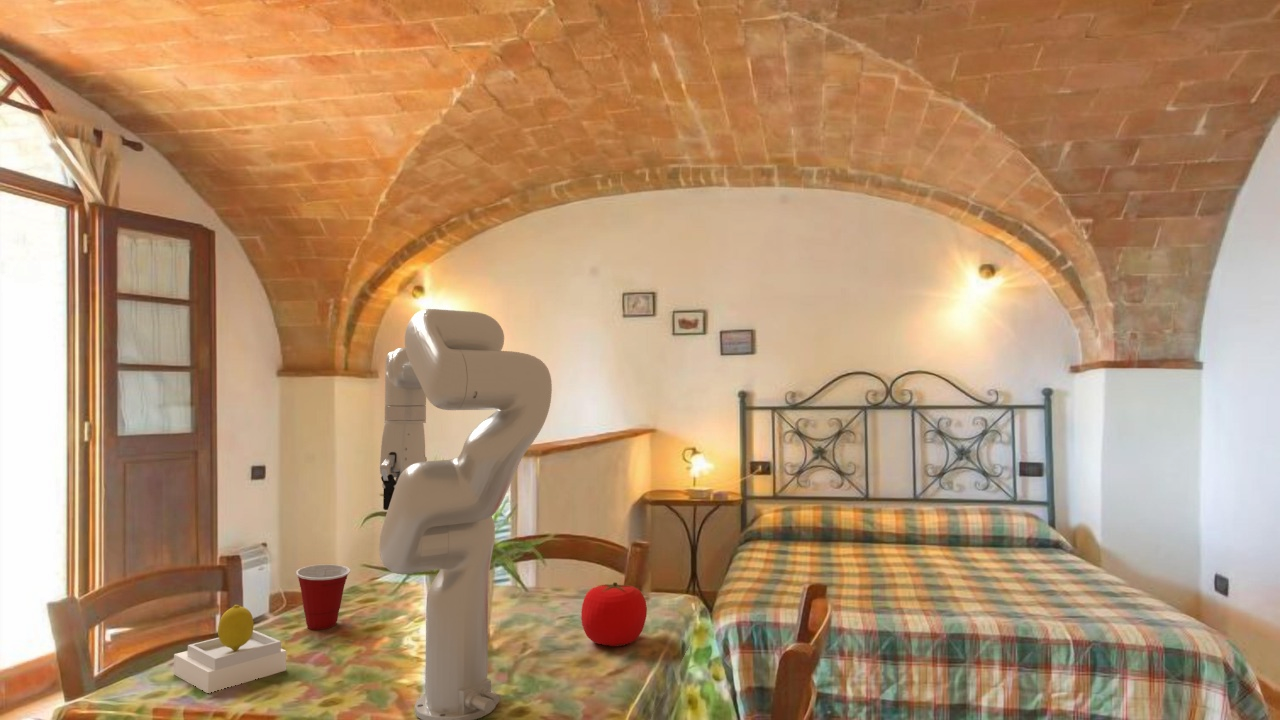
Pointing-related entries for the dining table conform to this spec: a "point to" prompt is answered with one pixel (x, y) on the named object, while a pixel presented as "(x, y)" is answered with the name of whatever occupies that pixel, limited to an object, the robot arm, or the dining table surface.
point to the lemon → (235, 627)
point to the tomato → (613, 614)
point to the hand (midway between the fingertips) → (404, 505)
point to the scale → (229, 662)
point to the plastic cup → (322, 593)
